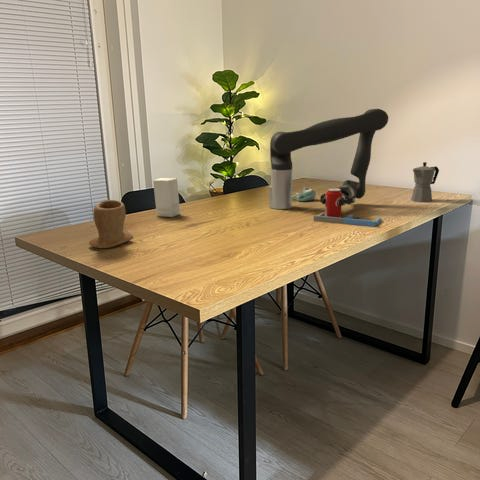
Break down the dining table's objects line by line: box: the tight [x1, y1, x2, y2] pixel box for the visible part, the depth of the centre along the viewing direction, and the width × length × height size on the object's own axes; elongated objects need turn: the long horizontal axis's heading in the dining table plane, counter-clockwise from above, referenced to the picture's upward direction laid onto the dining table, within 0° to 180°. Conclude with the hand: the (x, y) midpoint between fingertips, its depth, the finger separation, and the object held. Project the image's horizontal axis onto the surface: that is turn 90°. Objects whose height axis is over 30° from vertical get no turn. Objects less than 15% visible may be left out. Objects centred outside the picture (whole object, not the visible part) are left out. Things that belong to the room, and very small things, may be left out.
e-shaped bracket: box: [313, 211, 382, 228], centre depth 185 cm, size 24×11×2 cm, turn 62°
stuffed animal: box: [292, 186, 317, 203], centre depth 227 cm, size 11×7×12 cm
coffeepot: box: [410, 161, 440, 203], centre depth 220 cm, size 15×9×18 cm, turn 113°
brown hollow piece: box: [88, 199, 134, 249], centre depth 156 cm, size 15×12×15 cm
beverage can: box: [324, 187, 342, 218], centre depth 187 cm, size 6×6×12 cm
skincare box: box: [152, 177, 181, 218], centre depth 197 cm, size 8×7×16 cm
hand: (331, 202), depth 184 cm, fingers closed on beverage can, 6 cm apart
